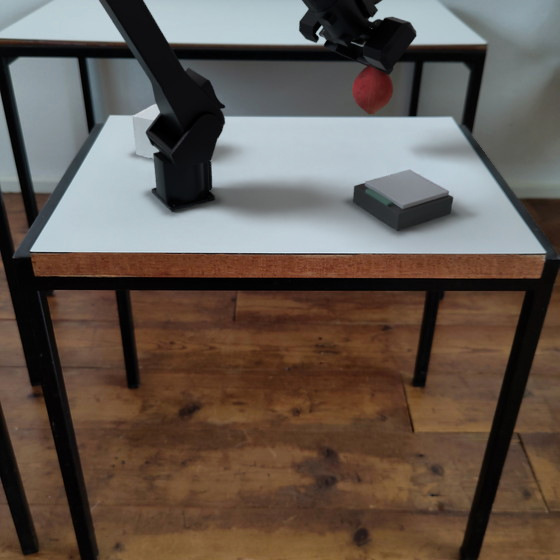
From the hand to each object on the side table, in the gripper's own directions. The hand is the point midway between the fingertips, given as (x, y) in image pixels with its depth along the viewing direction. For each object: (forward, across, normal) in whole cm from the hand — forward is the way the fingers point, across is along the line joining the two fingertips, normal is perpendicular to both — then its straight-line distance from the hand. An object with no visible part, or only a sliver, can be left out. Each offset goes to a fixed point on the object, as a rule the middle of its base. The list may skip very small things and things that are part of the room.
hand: (382, 68), depth 99 cm
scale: (+2, -17, +16) cm, 23 cm away
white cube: (-10, +16, +28) cm, 34 cm away
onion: (+4, 0, +6) cm, 7 cm away
